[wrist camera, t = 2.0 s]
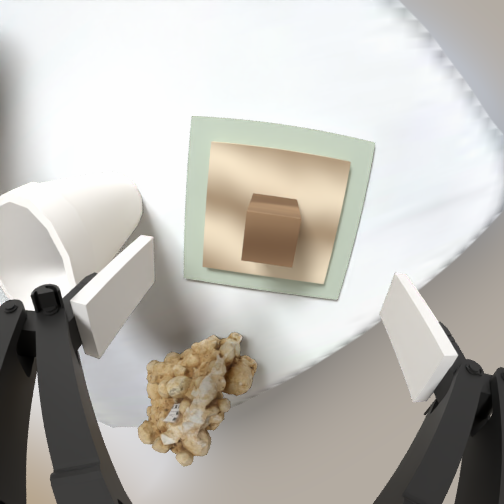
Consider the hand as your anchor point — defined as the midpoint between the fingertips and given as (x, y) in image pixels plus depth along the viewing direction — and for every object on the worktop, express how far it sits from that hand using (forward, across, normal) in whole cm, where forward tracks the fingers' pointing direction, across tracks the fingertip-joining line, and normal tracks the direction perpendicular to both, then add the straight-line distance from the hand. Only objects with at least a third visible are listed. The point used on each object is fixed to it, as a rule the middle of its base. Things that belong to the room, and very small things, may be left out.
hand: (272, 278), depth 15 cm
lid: (+10, 0, 0) cm, 10 cm away
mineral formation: (+11, -6, -16) cm, 21 cm away
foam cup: (+11, -15, -1) cm, 19 cm away
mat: (+11, 0, 0) cm, 11 cm away
